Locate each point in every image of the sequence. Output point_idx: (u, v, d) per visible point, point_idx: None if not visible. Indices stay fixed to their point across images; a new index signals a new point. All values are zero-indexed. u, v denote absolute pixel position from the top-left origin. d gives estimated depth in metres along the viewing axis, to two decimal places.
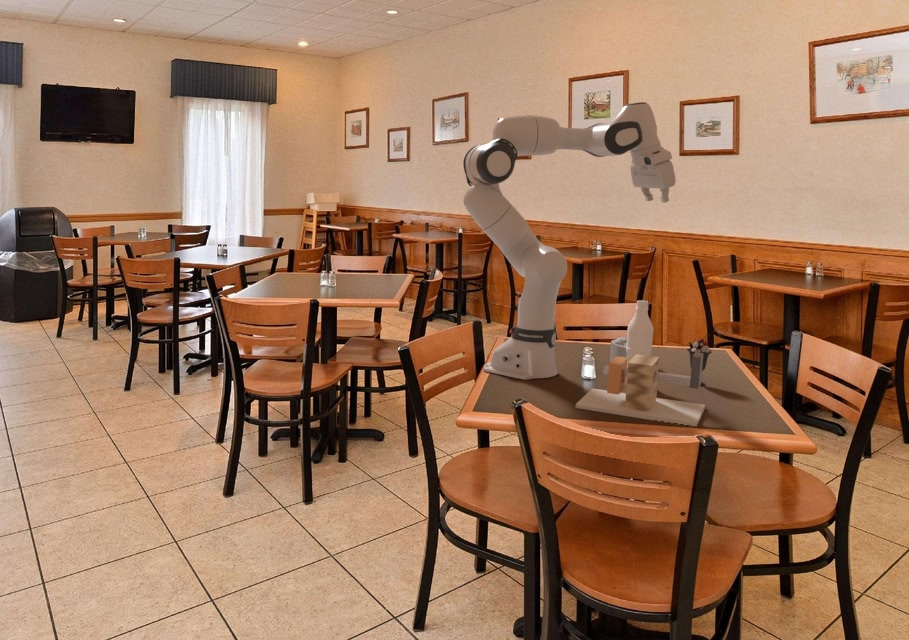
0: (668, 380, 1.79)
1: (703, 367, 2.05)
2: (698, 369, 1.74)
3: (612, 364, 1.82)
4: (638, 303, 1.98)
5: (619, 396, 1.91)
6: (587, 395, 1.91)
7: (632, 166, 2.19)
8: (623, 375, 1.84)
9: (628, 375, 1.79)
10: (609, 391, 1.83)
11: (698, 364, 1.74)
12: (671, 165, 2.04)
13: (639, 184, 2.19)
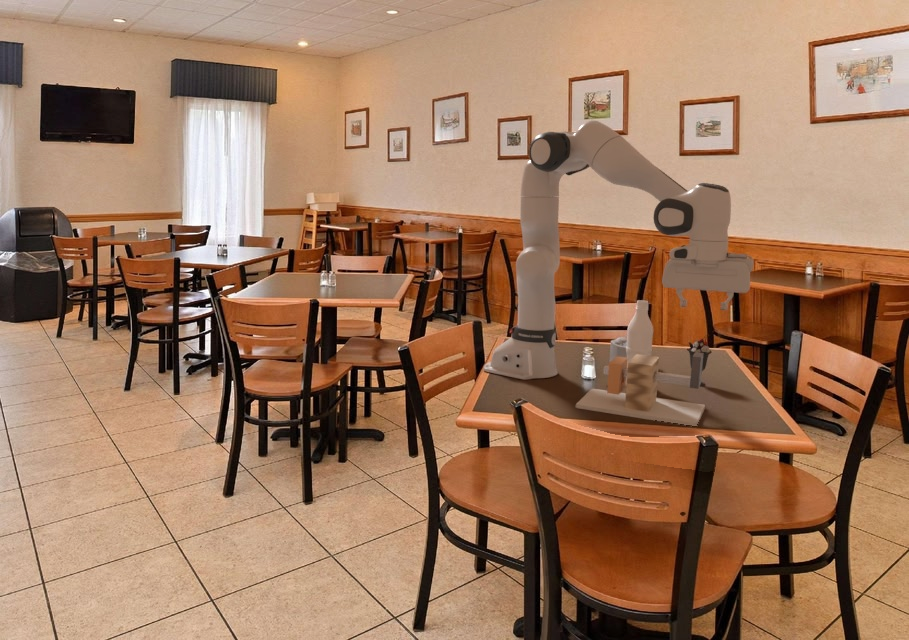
0: (668, 380, 1.79)
1: (703, 367, 2.05)
2: (698, 369, 1.74)
3: (612, 364, 1.82)
4: (638, 303, 1.98)
5: (619, 396, 1.91)
6: (587, 395, 1.91)
7: None
8: (623, 375, 1.84)
9: (628, 375, 1.79)
10: (609, 391, 1.83)
11: (698, 364, 1.74)
12: None
13: None
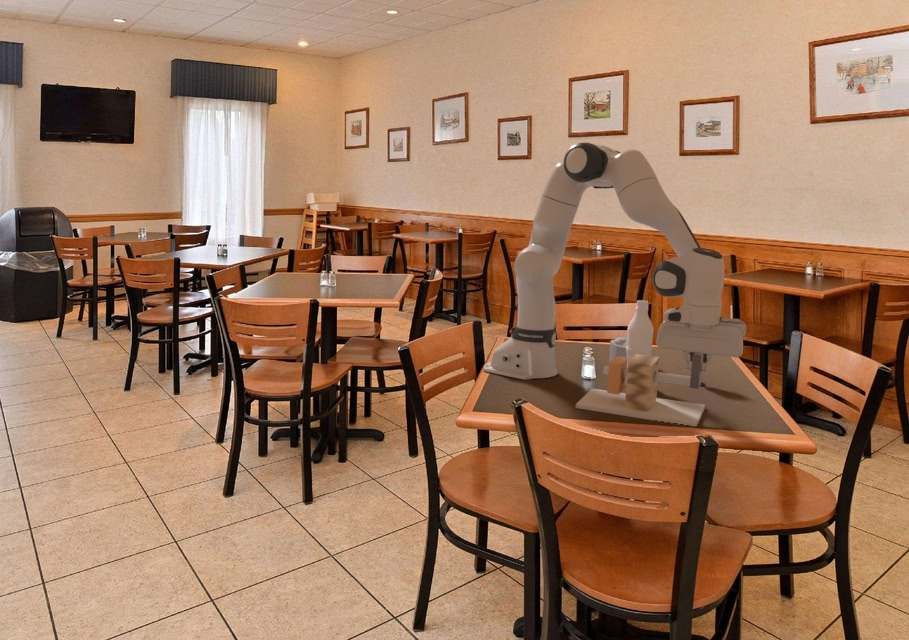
0: (668, 380, 1.79)
1: None
2: (698, 369, 1.74)
3: (612, 364, 1.82)
4: (638, 303, 1.98)
5: (619, 396, 1.91)
6: (587, 395, 1.91)
7: None
8: (623, 375, 1.84)
9: (628, 375, 1.79)
10: (609, 391, 1.83)
11: (698, 364, 1.74)
12: (660, 325, 1.77)
13: None
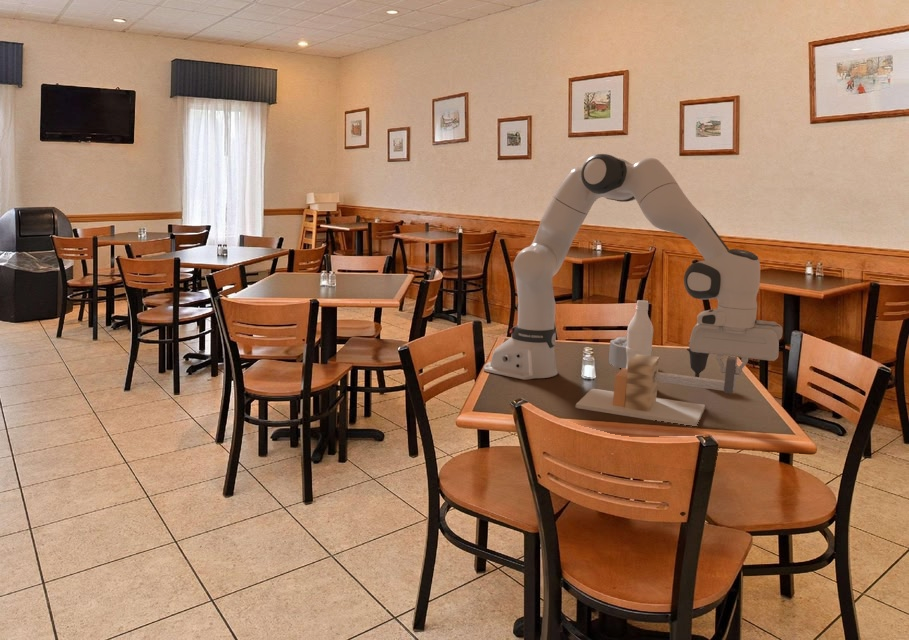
0: (701, 384, 1.76)
1: (703, 367, 2.05)
2: (732, 373, 1.70)
3: (618, 376, 1.81)
4: (638, 303, 1.98)
5: None
6: (587, 395, 1.91)
7: None
8: (654, 379, 1.80)
9: (628, 375, 1.79)
10: (615, 403, 1.83)
11: (733, 368, 1.70)
12: (693, 328, 1.73)
13: None
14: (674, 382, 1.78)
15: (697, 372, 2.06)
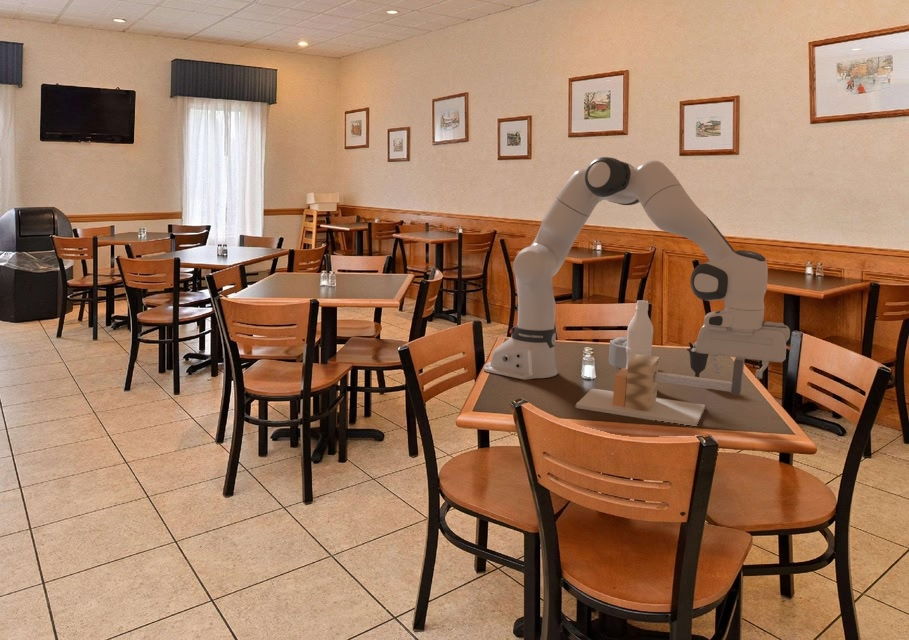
0: (708, 385, 1.75)
1: (703, 367, 2.05)
2: (740, 374, 1.70)
3: (618, 376, 1.81)
4: (638, 303, 1.98)
5: None
6: (587, 395, 1.91)
7: None
8: (661, 380, 1.80)
9: (628, 375, 1.79)
10: (615, 403, 1.83)
11: (740, 369, 1.69)
12: (700, 329, 1.73)
13: None
14: (681, 383, 1.78)
15: (697, 372, 2.06)
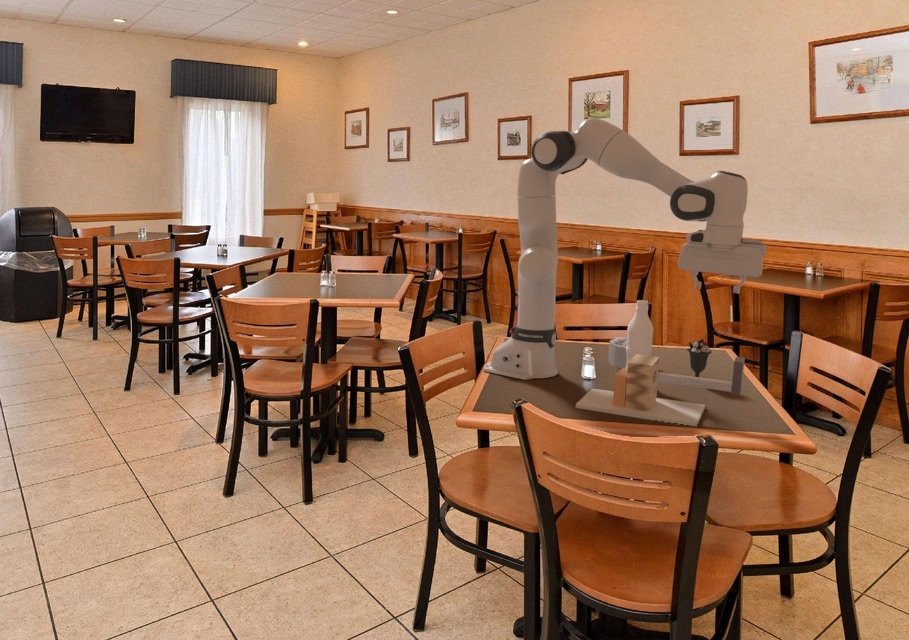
0: (708, 385, 1.75)
1: (703, 367, 2.05)
2: (740, 374, 1.70)
3: (618, 376, 1.81)
4: (638, 303, 1.98)
5: None
6: (587, 395, 1.91)
7: None
8: (661, 380, 1.80)
9: (628, 375, 1.79)
10: (615, 403, 1.83)
11: (740, 369, 1.69)
12: (682, 247, 1.82)
13: None
14: (681, 383, 1.78)
15: (697, 372, 2.06)
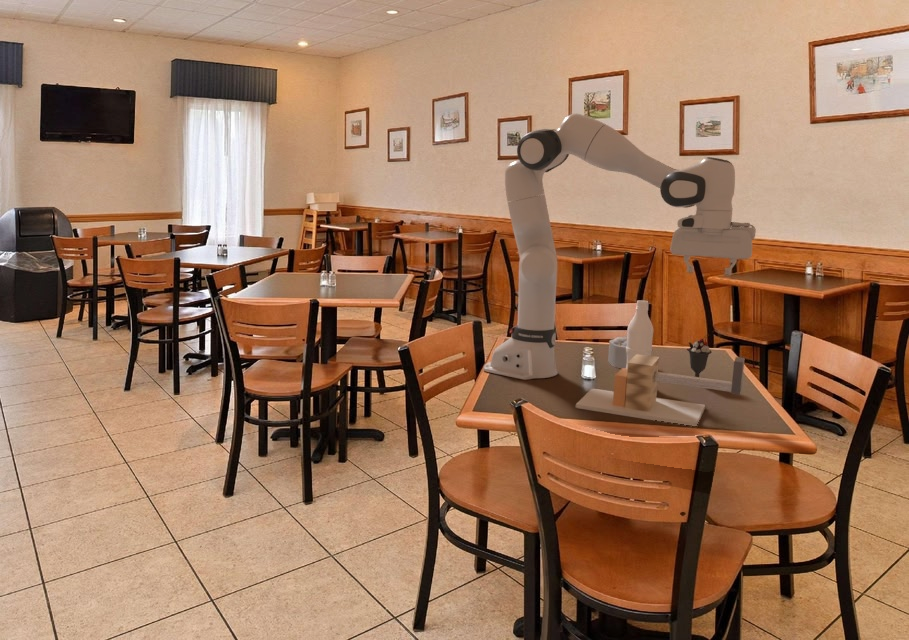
0: (708, 385, 1.75)
1: (703, 367, 2.05)
2: (740, 374, 1.70)
3: (618, 376, 1.81)
4: (638, 303, 1.98)
5: None
6: (587, 395, 1.91)
7: None
8: (661, 380, 1.80)
9: (628, 375, 1.79)
10: (615, 403, 1.83)
11: (740, 369, 1.69)
12: (674, 232, 1.88)
13: None
14: (681, 383, 1.78)
15: (697, 372, 2.06)
